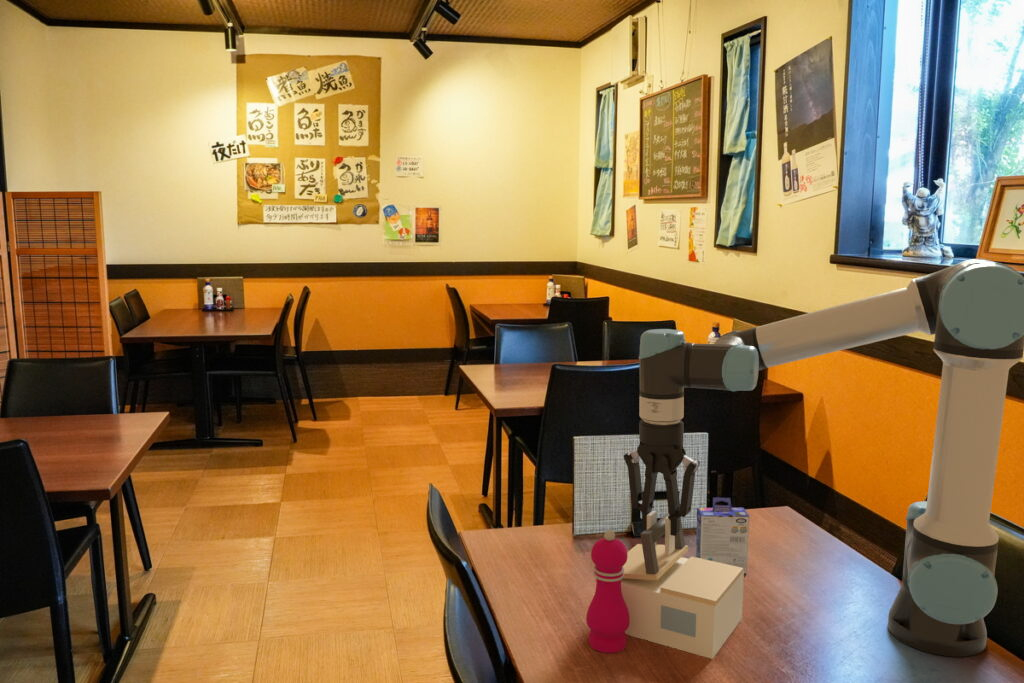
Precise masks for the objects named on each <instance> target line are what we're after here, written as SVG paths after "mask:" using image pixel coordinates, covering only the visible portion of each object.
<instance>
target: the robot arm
mask: <svg viewBox="0 0 1024 683" xmlns="http://www.w3.org/2000/svg"><path fill="white" fill-rule="evenodd" d="M918 332H920V333H923V334H926V335H928V336H932V335H934V339H933V340H934V341H933V352H934V353H935V354H936V356H938V357H939V358H940V360H941V361H942V370H941V378H940V379H941V380H940V385H939V386H940V387H939V395H938V405H937V413H936V420H935V421H936V423H935V430H934V438H933V440H934V441H933V448H932V457H931V464H930V472H929V473H930V475H929V480H928V490H927V491H928V492H927V500H924V501H923V500H922V501H915V502H913V503H911V504H910V505H909V506H908V510H907V515H906V517H905V520H906V528H905V540H904V556H903V567H902V580H901V586H900V588H899V590H898V592H897V595H896V596H895V598H894V601H893V602H892V605H891V607H890V609H889V611H888V616H887V617H888V618H887V628H888V631H889V632H890V633H891V634H892V636H893V637H895V638H896V639H898V640H899V641H900V642H901V643H904V644H905V645H908V646H910V647H912V648H914V649H916V650H919V651H923V652H926V653H929V654H934V655H939V656H944V657H957V658H959V657H971V656H976V655H978V654H980V653H981V652H983V651H984V650H985V649H986V647H987V639H988V638H987V636H988V631H987V627H986V623H985V621H984V618H985V617H986V616H988V614H989V613H990V612H991V611H992V610H993V609H994V606H995V604H996V602H997V598H998V593H999V592H998V590H999V588H998V582H997V580H996V578H995V574H996V573H995V571H996V566H997V565H996V563H997V556H998V548H999V540H1000V537H999V534H998V533H997V532H996V530H995V529H993V527H992V526H991V525H990V519H991V517H990V516H991V510H992V502H993V496H994V495H993V494H994V488H995V481H996V480H995V479H996V473H997V464H998V463H997V462H998V457H999V450H1000V440H1001V433H1002V425H1003V417H1004V410H1005V402H1006V395H1007V388H1008V387H1007V386H1008V379H1009V371H1010V369H1011V368H1012V367H1013V366H1014V365H1016V364H1017V363H1019V362H1020V361H1022V360H1023V357H1024V275H1023V274H1022V273H1020V272H1019V271H1017V270H1016V269H1014V268H1013V267H1011V266H1009V265H1006V264H1004V263H1001V262H997V261H995V260H990V259H985V258H972V259H971V258H970V259H967V260H964V261H960V262H958V263H955V264H952V265H950V266H949V267H948V266H947V267H945V268H943V269H941V270H938V271H935V272H932V273H929V274H926V275H923V276H919V277H916V278H912V279H911V280H910V282H909V283H908V285H907V286H906V287H902V288H898V289H894V290H891V291H886V292H883V293H880V294H876V295H872V296H868V297H864V298H861V299H856V300H853V301H849V302H845V303H841V304H837V305H834V306H831V307H827V308H823V309H819V310H815V311H812V312H807V313H804V314H800V315H797V316H793V317H789V318H786V319H782V320H778V321H773V322H769V323H767V324H762V325H759V326H755V327H753V328H748V329H743V330H741V331H740V330H732V331H729V332H727V333H724V334H723V335H721V336H720V337H719V338H718V339H717V340H716V341H715V342H714V343H694V342H693V343H692V342H687V340H686V338H685V333H684V332H683V331H681V330H679V329H671V328H655V329H648V330H645V331H644V332H643V333H642V334H641V335H640V338H639V339H640V342H639V343H640V344H639V355H638V362H639V363H638V364H639V366H638V370H639V404H638V406H639V408H638V410H639V417H640V420H639V423H638V424H639V425H638V427H639V428H638V429H639V430H638V432H639V434H638V436H639V437H638V438H639V439H638V440H639V444H638V446H637V449H636V450H630V451H628V452H627V453H624V455H623V459H624V462H625V464H626V466H627V472H628V473H627V474H628V483H629V493H630V494H629V495H630V504H631V507H632V508H633V509H637V510H639V511H640V512H641V528H642V530H643V531H647V530H648V529H649V528H650V527H652V526H653V525H654V524H655V523H656V522H658V515H657V513H658V512H657V510H653V509H654V508H655V505H654V500H655V494H656V485H657V479H658V475H659V473H660V474H662V478H663V481H664V482H665V483H664V484H665V492H666V498H667V508H668V511H669V515H668V516H667V517H666V518H665V534H664V545H665V554H666V555H670V554H671V553H672V552H673V551H674V550H675V536H676V535H678V534H679V532H680V517H681V518H684V517H686V516H688V514H689V513H691V512H692V503H693V497H694V488H695V480H696V478H695V477H696V472H697V470H698V468H699V466H700V465H701V461H700V460H699V459H697V458H696V459H695V458H694V459H693V458H691V457H689V455H687V453H686V450H685V448H684V437H685V436H684V435H685V434H684V433H685V432H684V427H685V426H684V422H683V421H682V419H683V418H684V415H685V413H684V412H685V411H684V410H685V409H684V408H685V403H684V402H685V401H684V400H685V399H684V398H685V397H684V396H685V391H684V390H685V388H690V389H693V388H695V389H706V390H707V389H708V390H722V391H731V392H737V391H738V392H739V391H740V392H741V391H745V392H746V391H749V392H751V391H753V390H754V389H755V388H756V387H757V384H758V378H759V371H762V370H765V369H768V368H771V367H775V366H780V365H784V364H790V363H793V362H798V361H802V360H806V359H810V358H813V357H817V356H823V355H826V354H830V353H834V352H838V351H842V350H847V349H848V350H849V349H852V348H855V347H860V346H864V345H869V344H873V343H876V342H881V341H886V340H888V339H893V338H897V337H902V336H906V335H909V334H911V335H912V334H914V333H918ZM640 460H641V461H642V462H643V464H644V465H645V469H644V471H645V472H644V476H645V479H644V485H642V475H641V466H640ZM681 463H682V464H683V466H682V468H683V470H684V473H683V477H682V478H683V480H682V486H681V496H680V493H679V484H678V467H679V466H680V465H681ZM657 543H658V540H657V541H656V542H655V547H656V546H657V545H658V544H657Z"/></svg>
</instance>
